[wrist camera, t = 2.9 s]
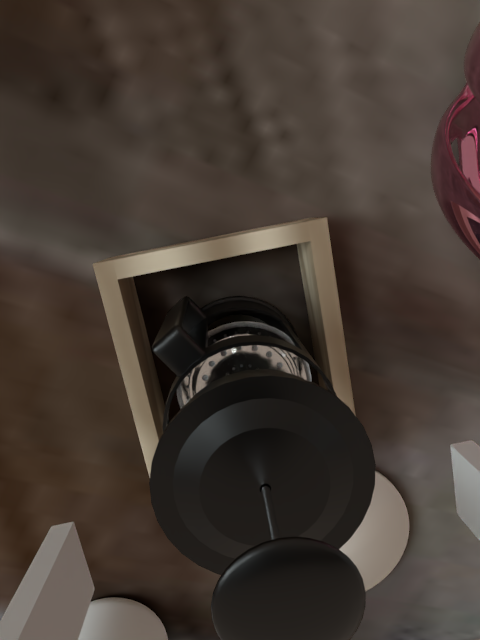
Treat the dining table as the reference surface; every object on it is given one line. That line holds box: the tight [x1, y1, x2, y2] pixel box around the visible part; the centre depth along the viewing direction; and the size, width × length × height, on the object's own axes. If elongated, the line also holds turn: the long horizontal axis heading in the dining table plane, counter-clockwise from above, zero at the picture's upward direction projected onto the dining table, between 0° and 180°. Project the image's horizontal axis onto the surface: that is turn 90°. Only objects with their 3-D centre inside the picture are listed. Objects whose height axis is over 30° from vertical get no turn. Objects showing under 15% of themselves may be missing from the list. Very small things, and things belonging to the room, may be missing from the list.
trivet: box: [339, 470, 409, 591], centre depth 38 cm, size 13×13×1 cm
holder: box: [93, 217, 356, 477], centre depth 32 cm, size 14×17×5 cm
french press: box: [149, 296, 375, 640], centre depth 23 cm, size 12×9×23 cm
